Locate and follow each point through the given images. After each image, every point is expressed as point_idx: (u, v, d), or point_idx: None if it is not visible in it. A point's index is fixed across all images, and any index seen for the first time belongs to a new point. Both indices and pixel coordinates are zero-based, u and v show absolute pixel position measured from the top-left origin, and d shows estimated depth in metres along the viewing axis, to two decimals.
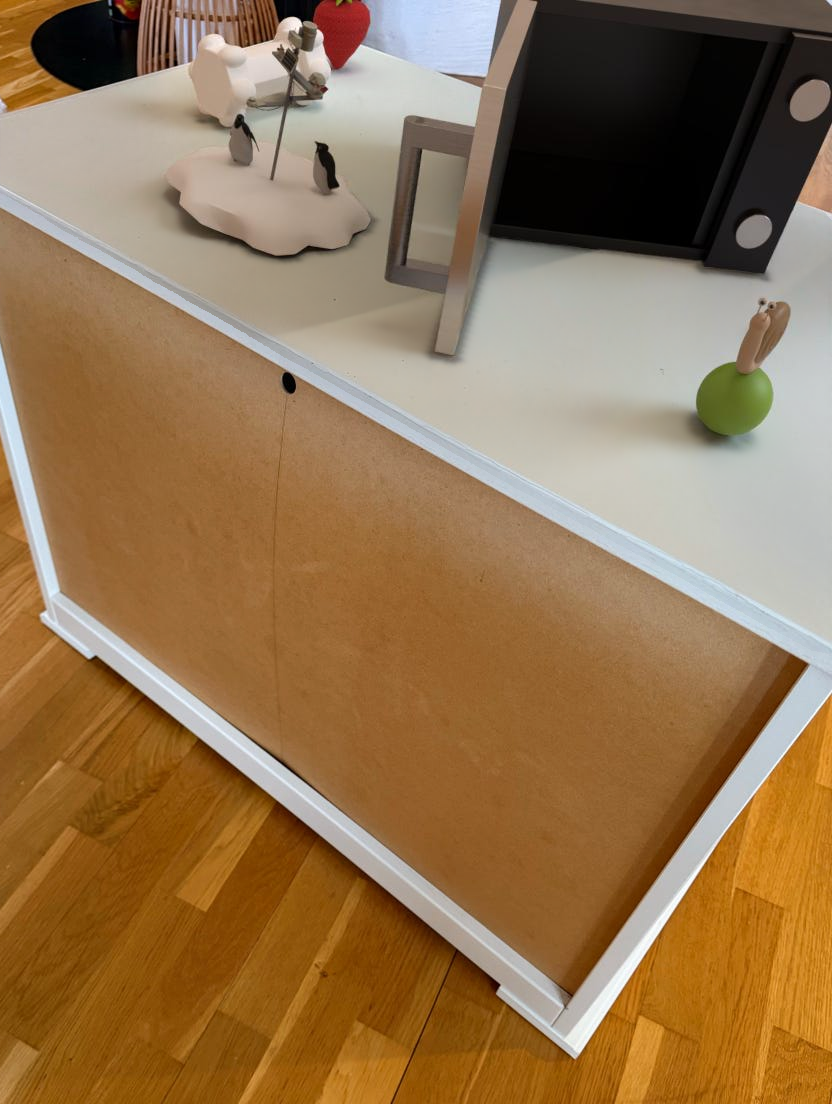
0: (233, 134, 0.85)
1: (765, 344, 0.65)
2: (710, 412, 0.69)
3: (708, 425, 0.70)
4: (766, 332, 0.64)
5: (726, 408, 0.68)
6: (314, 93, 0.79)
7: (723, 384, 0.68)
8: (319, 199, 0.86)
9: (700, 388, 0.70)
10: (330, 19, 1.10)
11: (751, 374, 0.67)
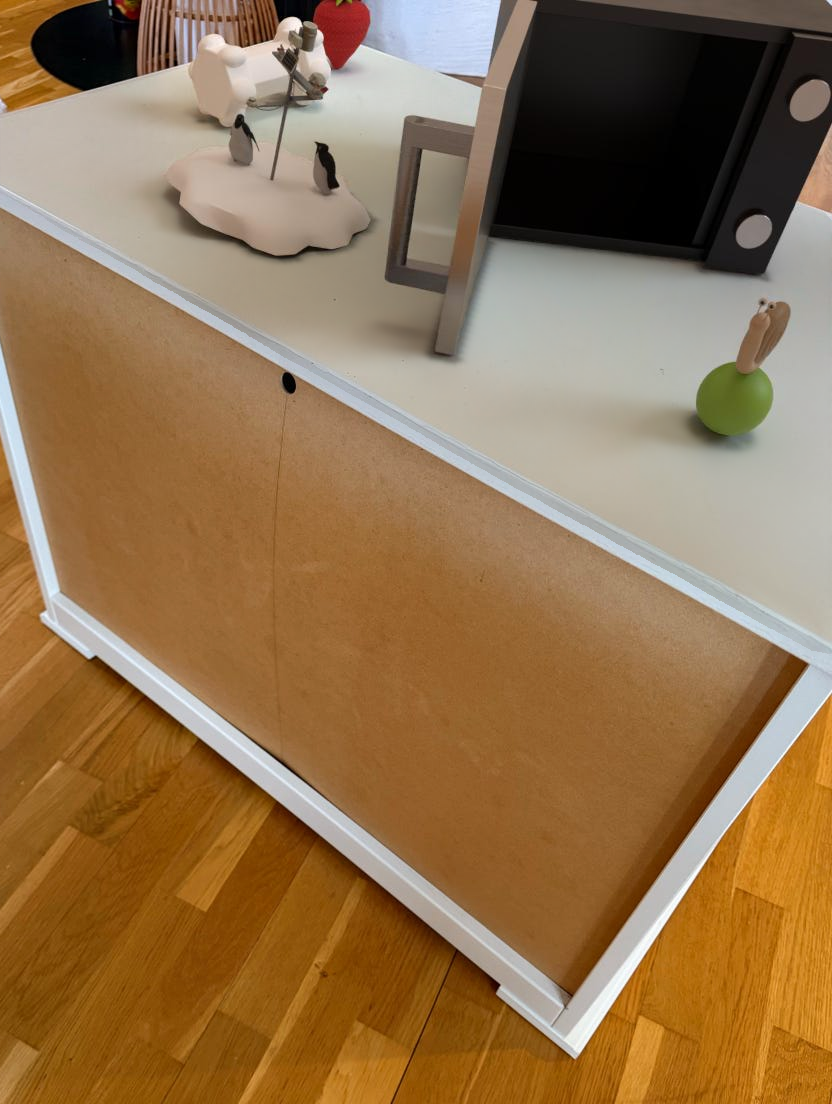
0: (233, 134, 0.85)
1: (765, 344, 0.65)
2: (710, 412, 0.69)
3: (708, 425, 0.70)
4: (766, 332, 0.64)
5: (726, 408, 0.68)
6: (314, 93, 0.79)
7: (723, 384, 0.68)
8: (319, 199, 0.86)
9: (700, 388, 0.70)
10: (330, 19, 1.10)
11: (751, 374, 0.67)
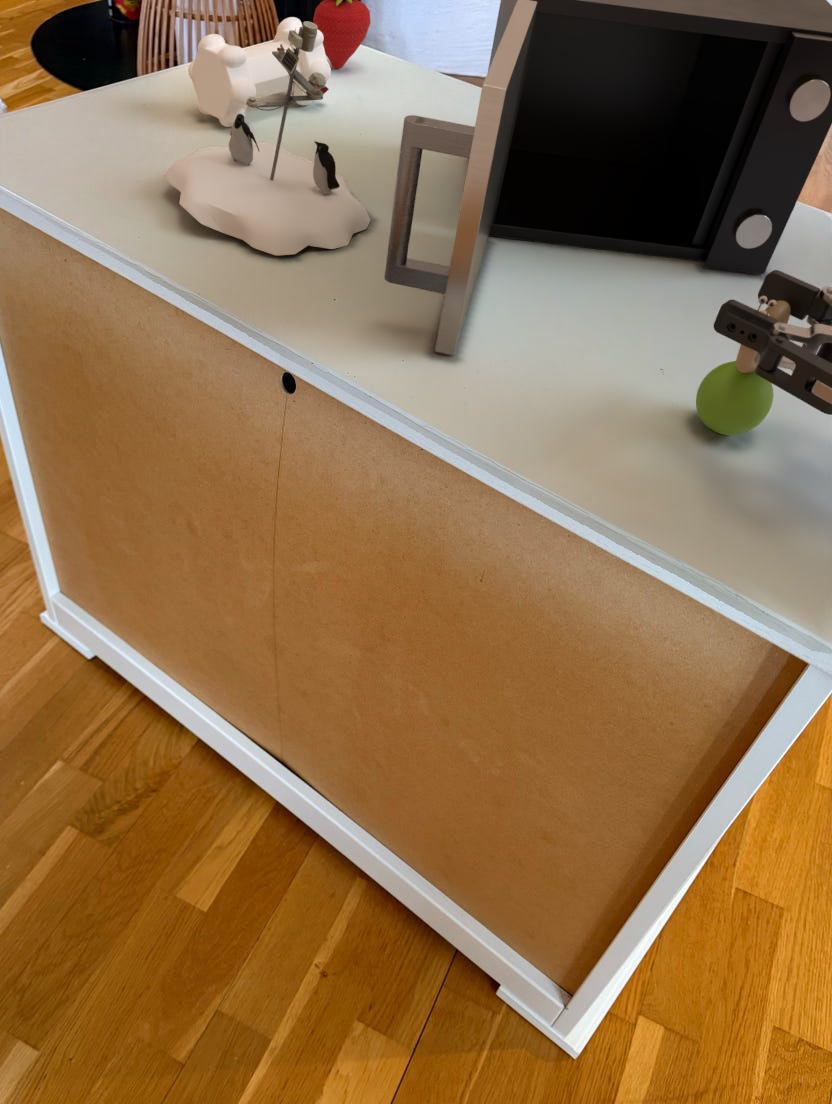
0: (233, 134, 0.85)
1: None
2: (710, 411, 0.69)
3: (708, 424, 0.70)
4: None
5: (726, 407, 0.68)
6: (314, 93, 0.79)
7: (723, 383, 0.68)
8: (319, 199, 0.86)
9: (700, 387, 0.70)
10: (330, 19, 1.10)
11: (751, 373, 0.67)
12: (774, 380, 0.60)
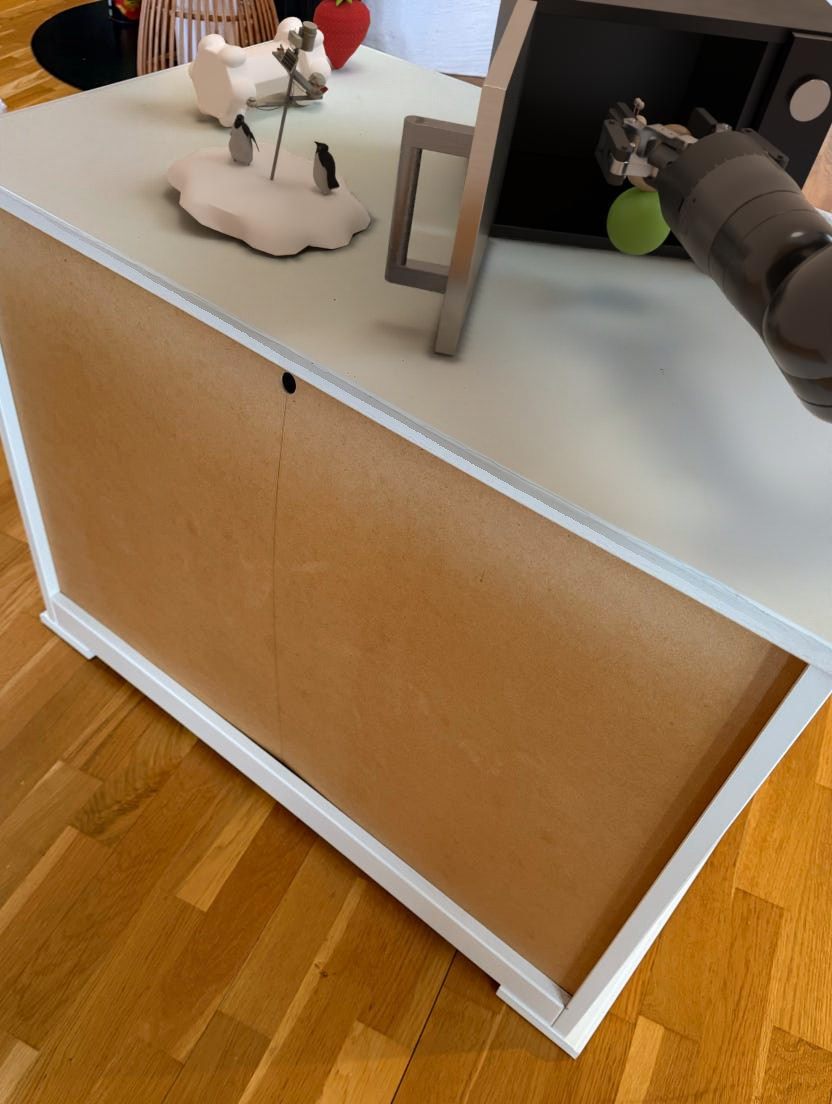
0: (233, 134, 0.85)
1: None
2: (607, 220, 0.79)
3: (609, 236, 0.80)
4: None
5: (614, 214, 0.78)
6: (314, 93, 0.79)
7: (622, 195, 0.78)
8: (319, 199, 0.86)
9: None
10: (330, 19, 1.10)
11: (646, 192, 0.77)
12: (598, 157, 0.71)
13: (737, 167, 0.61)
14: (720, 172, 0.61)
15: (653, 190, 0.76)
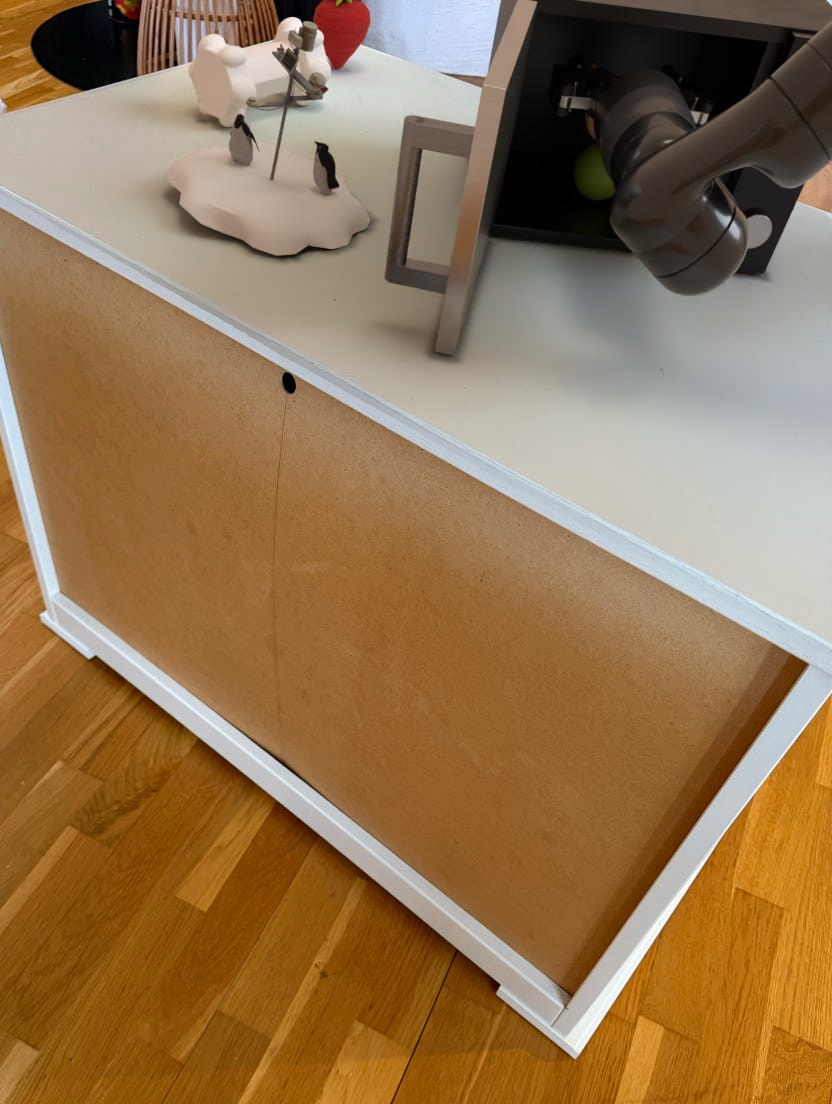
0: (233, 134, 0.85)
1: None
2: None
3: None
4: None
5: (577, 163, 0.92)
6: (314, 93, 0.79)
7: (586, 147, 0.92)
8: (319, 199, 0.86)
9: None
10: (330, 19, 1.10)
11: None
12: (549, 95, 0.85)
13: (640, 94, 0.74)
14: (627, 98, 0.75)
15: None
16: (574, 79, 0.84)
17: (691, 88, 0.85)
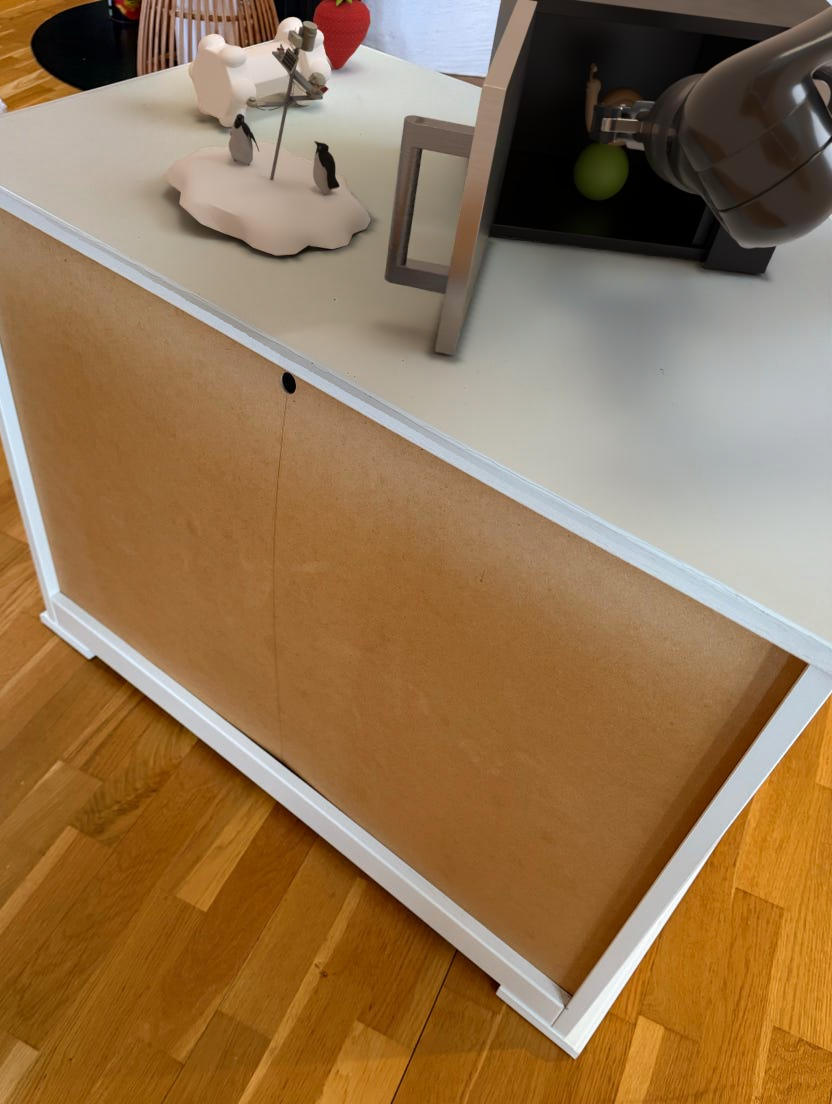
0: (233, 134, 0.85)
1: None
2: None
3: None
4: (605, 101, 0.88)
5: (577, 163, 0.92)
6: (314, 93, 0.79)
7: (586, 147, 0.92)
8: (319, 199, 0.86)
9: None
10: (330, 19, 1.10)
11: (604, 145, 0.91)
12: (591, 135, 0.76)
13: (696, 78, 0.64)
14: (681, 86, 0.65)
15: (610, 143, 0.91)
16: None
17: None
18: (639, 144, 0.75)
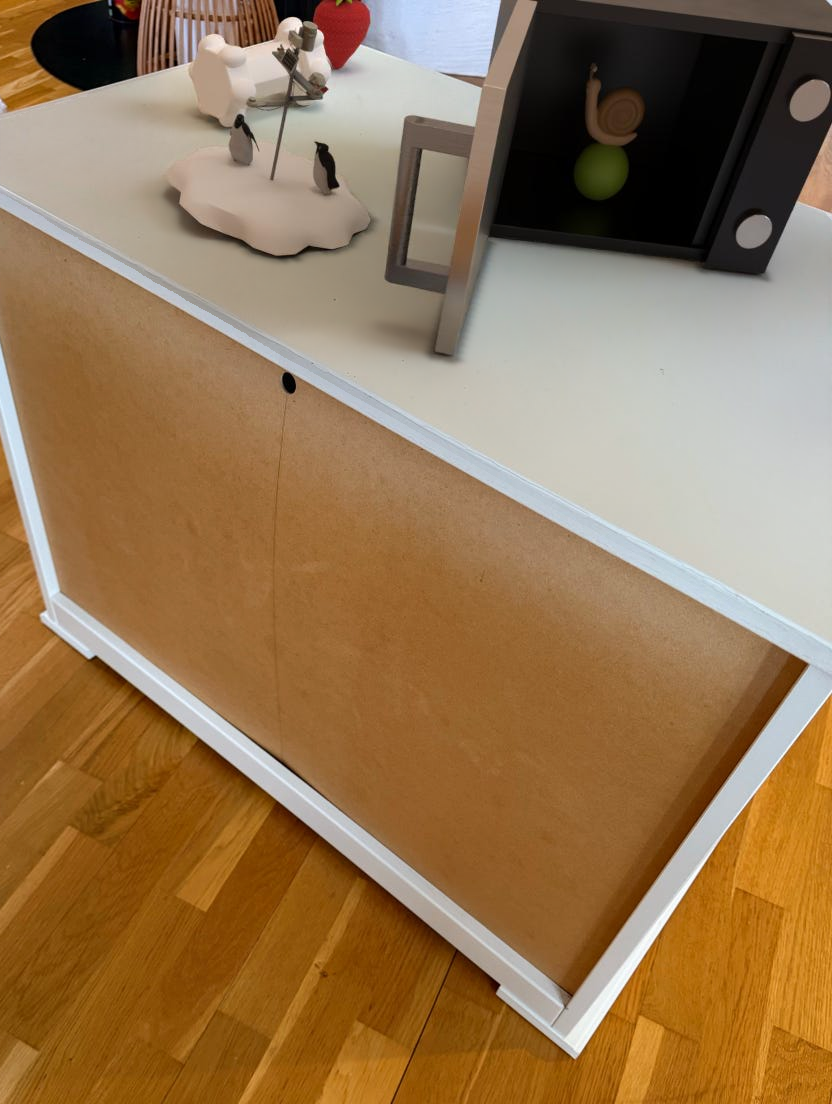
0: (233, 134, 0.85)
1: (605, 113, 0.89)
2: None
3: None
4: (605, 101, 0.88)
5: (577, 163, 0.92)
6: (314, 93, 0.79)
7: (586, 147, 0.92)
8: (319, 199, 0.86)
9: None
10: (330, 19, 1.10)
11: (604, 145, 0.91)
12: None
13: None
14: None
15: (610, 143, 0.91)
16: None
17: None
18: None
